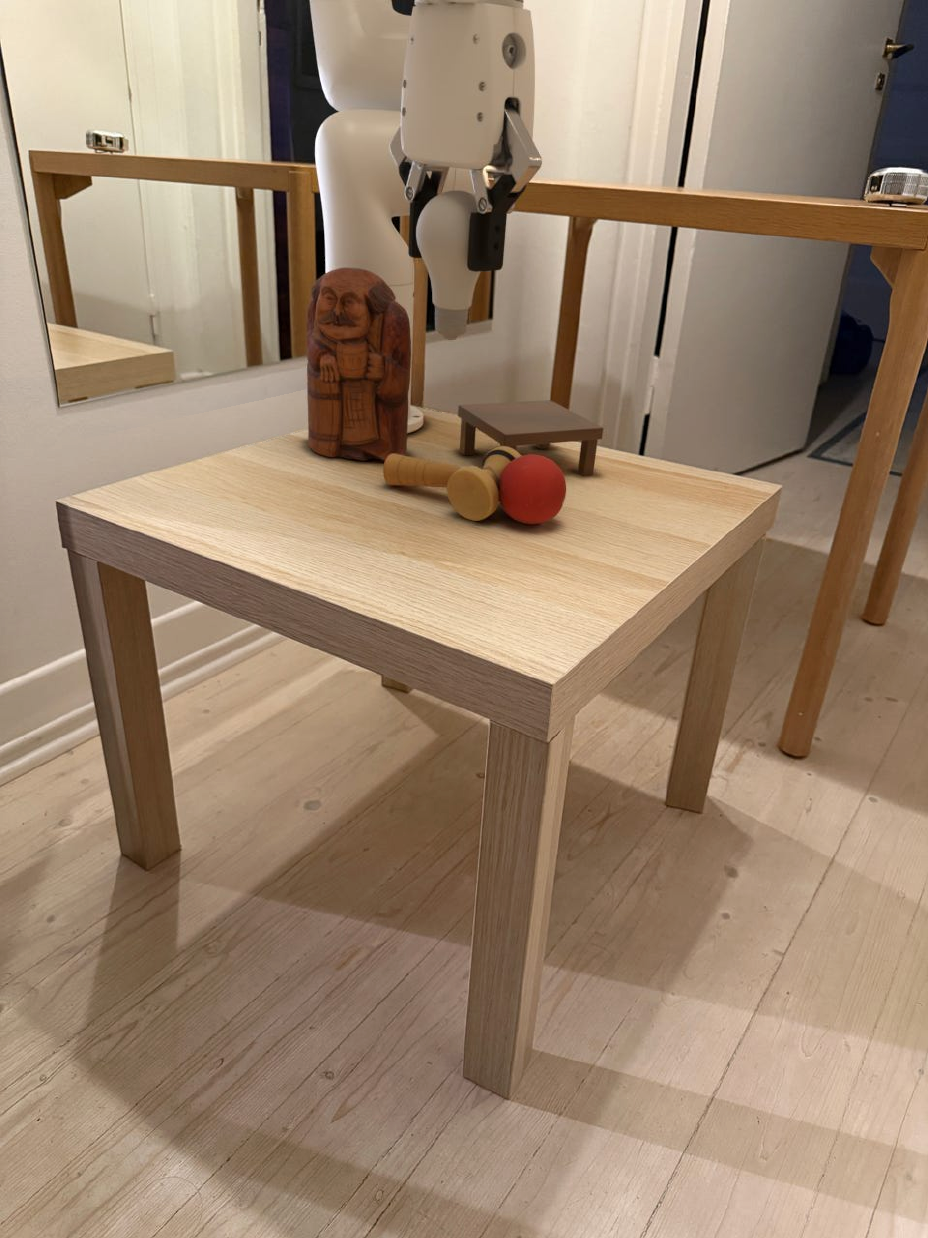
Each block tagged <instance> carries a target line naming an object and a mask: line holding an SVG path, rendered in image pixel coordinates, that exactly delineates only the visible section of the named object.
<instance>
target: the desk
mask: <svg viewBox="0 0 928 1238" xmlns="http://www.w3.org/2000/svg"><path fill="white" fill-rule="evenodd" d="M457 410H458V411H457V417H458V418H460V419H461V423H460V424H461V425H460V439H459V453H460V454H462V455H463V456H469V455H470V456H472V455H475V447H476V432H477V430H478V431H480V432H481V433H483V434H484V435H486V436H488V437H489V438H490V439H492V440H493V441H495V442H497V444H500V446H507V447H510V448H513V449H514V450H516V451H517V447H519V446H520V447H521V446H533V445H535V447H536V448H538V449H539V450H545V449H546V450H547V449H550V447H551V444H559V443H570V442H571V443H572V442H580V451H579V457H578V466H577V473H578V474H580V475H582V476H593V475H594V470H595V463H596V456H597V449H598V441H599V440H602V439H603V433H604V427H603V426H601V425H599V424H596V423H595V422H593V421H592V420H589V419H588V418H585V417H584V416H582V415H579V414H578V413H575V412H574V411H573V410H570V409H568V408H566V407H564V406H562V405H560V404H558V403H556V402H554V401H553V400H551V399H547V400H546V399H545V400H544V399H543V400H530V401H529V400H527V401H509V402H493V403H492V402H491V403H474V404H458V409H457ZM500 446H499V447H500Z"/></svg>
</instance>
